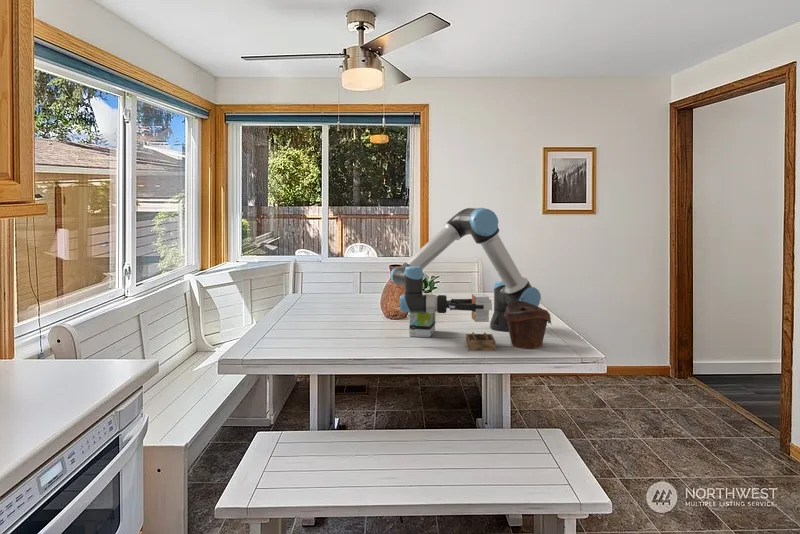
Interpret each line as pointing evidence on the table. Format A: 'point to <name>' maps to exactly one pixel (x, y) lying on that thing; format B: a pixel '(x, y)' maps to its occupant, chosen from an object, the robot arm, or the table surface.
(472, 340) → the crate
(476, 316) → the small box
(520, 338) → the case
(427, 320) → the tea box
